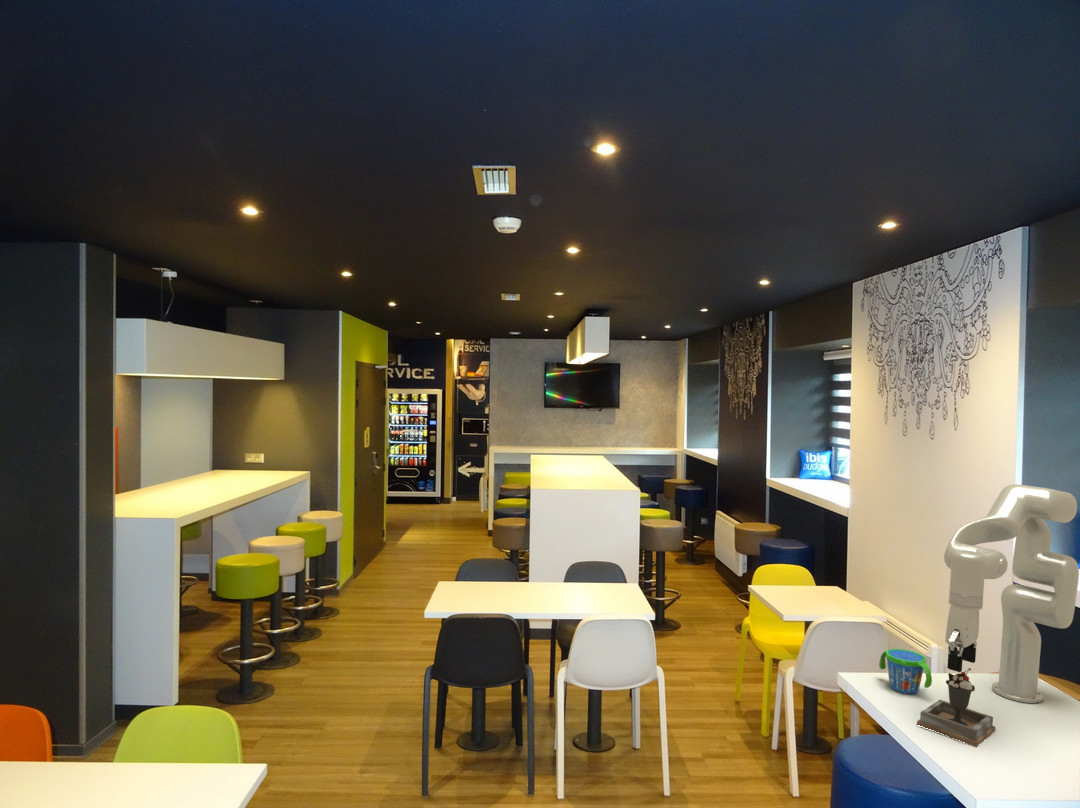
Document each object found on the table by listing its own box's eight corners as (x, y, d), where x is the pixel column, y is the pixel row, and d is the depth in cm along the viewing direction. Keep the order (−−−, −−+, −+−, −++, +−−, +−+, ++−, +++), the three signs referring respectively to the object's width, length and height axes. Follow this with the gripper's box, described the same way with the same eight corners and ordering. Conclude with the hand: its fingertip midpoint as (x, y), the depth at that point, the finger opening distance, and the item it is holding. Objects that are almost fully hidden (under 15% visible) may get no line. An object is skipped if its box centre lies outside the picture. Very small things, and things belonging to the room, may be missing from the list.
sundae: (976, 731, 192) (980, 672, 191) (947, 727, 193) (951, 668, 192) (967, 720, 198) (971, 663, 198) (939, 716, 199) (943, 659, 199)
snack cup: (868, 680, 225) (871, 646, 225) (896, 677, 229) (898, 644, 228) (911, 702, 210) (914, 666, 210) (940, 699, 214) (942, 663, 214)
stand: (937, 711, 205) (938, 698, 205) (995, 731, 195) (996, 717, 195) (916, 725, 196) (917, 711, 196) (976, 747, 185) (977, 732, 185)
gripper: (961, 590, 203) (957, 653, 204) (937, 602, 191) (933, 669, 192) (993, 597, 197) (988, 662, 198) (969, 610, 186) (965, 679, 186)
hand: (961, 665), depth 195 cm, fingers open, 9 cm apart
